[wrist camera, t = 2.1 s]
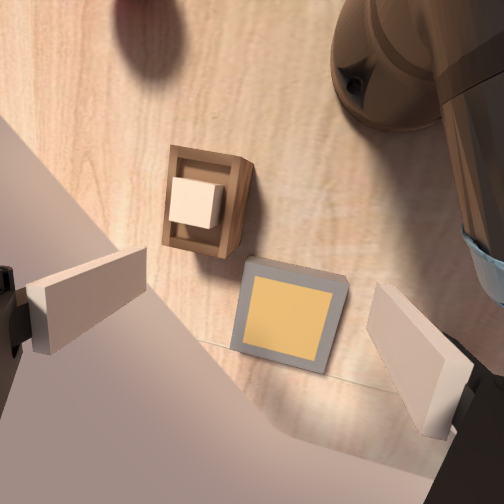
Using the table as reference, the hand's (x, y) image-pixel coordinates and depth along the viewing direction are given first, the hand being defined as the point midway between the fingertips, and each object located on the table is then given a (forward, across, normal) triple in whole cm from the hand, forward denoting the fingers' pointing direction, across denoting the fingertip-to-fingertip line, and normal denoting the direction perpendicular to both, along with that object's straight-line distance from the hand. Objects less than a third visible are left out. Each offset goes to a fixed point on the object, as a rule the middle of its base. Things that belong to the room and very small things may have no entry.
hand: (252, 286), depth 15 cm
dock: (+18, +3, -10) cm, 21 cm away
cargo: (+12, -8, +3) cm, 15 cm away
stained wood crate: (+18, -8, +3) cm, 20 cm away
